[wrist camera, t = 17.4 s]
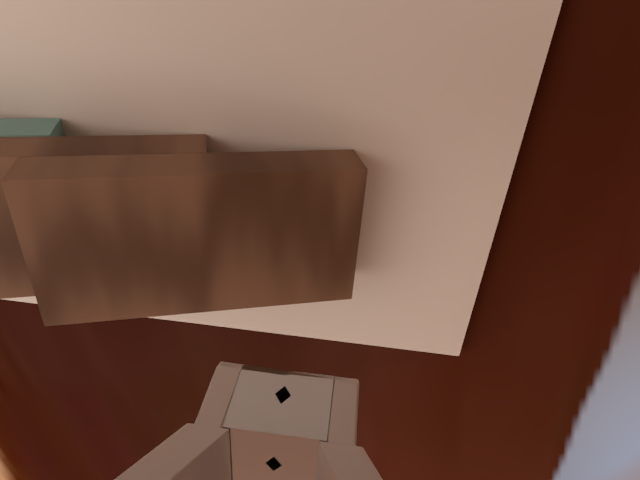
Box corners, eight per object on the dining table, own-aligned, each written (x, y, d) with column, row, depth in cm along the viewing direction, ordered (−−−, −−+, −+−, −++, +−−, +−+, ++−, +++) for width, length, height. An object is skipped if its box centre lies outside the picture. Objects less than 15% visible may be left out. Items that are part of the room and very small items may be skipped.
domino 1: (205, 134, 17) (-145, 139, 15) (206, 152, 15) (-179, 160, 13) (212, 257, 19) (-83, 277, 17) (214, 282, 18) (-106, 306, 16)
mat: (-794, -709, 10) (-835, -731, 10) (761, -709, 8) (778, -736, 8) (-206, 267, 23) (-216, 272, 22) (457, 349, 21) (459, 356, 21)
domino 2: (353, 149, 16) (18, 156, 14) (367, 169, 15) (0, 180, 13) (340, 272, 19) (55, 294, 17) (351, 298, 18) (44, 326, 16)
